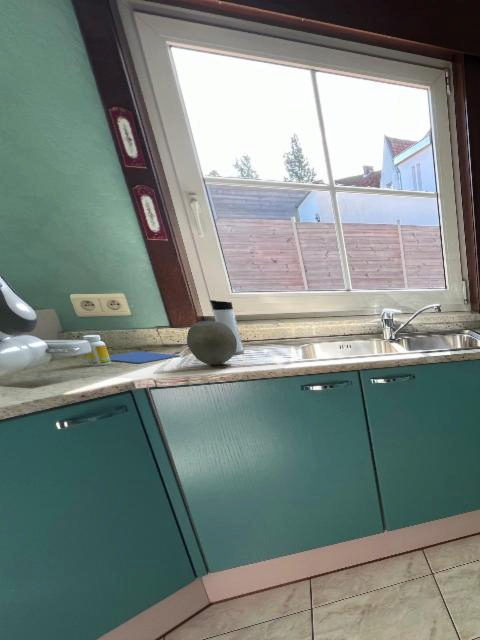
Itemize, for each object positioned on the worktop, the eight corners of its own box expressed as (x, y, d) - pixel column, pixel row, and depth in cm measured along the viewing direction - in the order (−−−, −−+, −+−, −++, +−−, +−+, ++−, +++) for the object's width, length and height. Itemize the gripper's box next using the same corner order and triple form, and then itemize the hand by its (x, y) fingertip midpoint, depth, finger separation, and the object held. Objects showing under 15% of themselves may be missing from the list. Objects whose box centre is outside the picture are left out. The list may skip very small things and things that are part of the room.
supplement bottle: (88, 366, 163) (78, 337, 160) (91, 363, 167) (81, 335, 164) (110, 365, 166) (100, 336, 163) (112, 362, 170) (103, 334, 167)
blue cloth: (96, 359, 173) (95, 358, 173) (139, 352, 186) (139, 351, 186) (139, 363, 169) (138, 362, 169) (180, 356, 182) (180, 355, 182)
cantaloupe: (182, 368, 165) (168, 322, 159) (217, 359, 178) (206, 317, 172) (220, 370, 164) (208, 324, 158) (252, 362, 177) (242, 319, 171)
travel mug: (219, 354, 187) (205, 300, 180) (236, 351, 193) (223, 298, 185) (230, 355, 185) (216, 301, 178) (247, 353, 191) (235, 299, 183)
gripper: (67, 340, 141) (100, 332, 154) (-22, 340, 137) (19, 332, 149) (75, 361, 144) (107, 352, 156) (-12, 362, 139) (28, 353, 151)
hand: (63, 343), depth 153 cm, fingers open, 8 cm apart
